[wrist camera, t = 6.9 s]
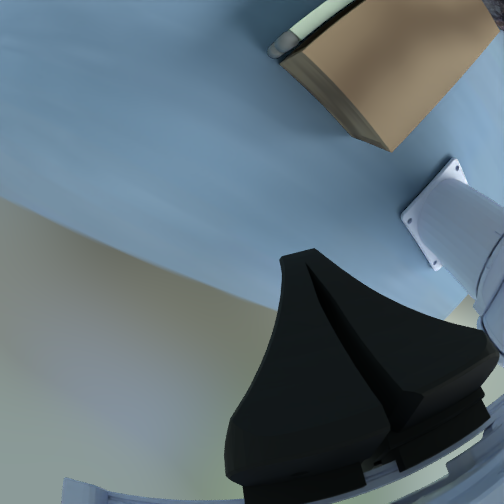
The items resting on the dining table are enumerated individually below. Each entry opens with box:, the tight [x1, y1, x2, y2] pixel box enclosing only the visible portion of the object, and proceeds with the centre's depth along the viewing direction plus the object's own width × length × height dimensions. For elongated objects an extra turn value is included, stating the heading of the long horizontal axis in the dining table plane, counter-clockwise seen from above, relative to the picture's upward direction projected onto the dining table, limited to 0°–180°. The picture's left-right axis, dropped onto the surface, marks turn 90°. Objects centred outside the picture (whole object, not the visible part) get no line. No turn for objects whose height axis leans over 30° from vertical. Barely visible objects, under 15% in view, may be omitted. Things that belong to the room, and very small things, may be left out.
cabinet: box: [280, 0, 500, 153], centre depth 11 cm, size 7×16×5 cm, turn 138°
